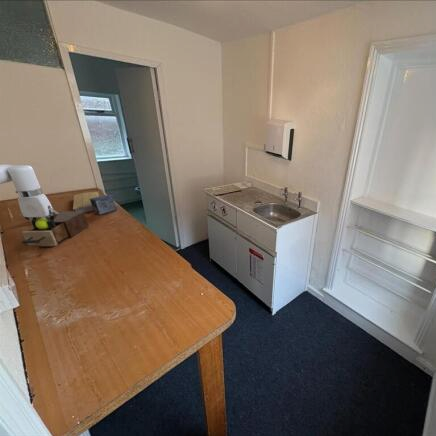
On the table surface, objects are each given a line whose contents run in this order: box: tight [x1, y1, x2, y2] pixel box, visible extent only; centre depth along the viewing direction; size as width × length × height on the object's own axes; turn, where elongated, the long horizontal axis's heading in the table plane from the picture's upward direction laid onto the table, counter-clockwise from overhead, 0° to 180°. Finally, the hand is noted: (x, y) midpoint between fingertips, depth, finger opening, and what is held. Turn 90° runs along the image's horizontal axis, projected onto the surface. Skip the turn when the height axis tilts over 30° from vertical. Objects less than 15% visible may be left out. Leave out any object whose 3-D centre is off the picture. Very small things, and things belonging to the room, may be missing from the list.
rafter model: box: [72, 191, 100, 213], centre depth 164 cm, size 35×14×6 cm, turn 39°
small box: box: [90, 194, 117, 216], centre depth 153 cm, size 11×6×10 cm, turn 154°
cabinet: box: [48, 210, 90, 239], centre depth 125 cm, size 15×13×10 cm
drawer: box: [21, 223, 69, 247], centre depth 114 cm, size 18×11×8 cm, turn 9°
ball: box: [35, 217, 49, 229], centre depth 113 cm, size 6×6×6 cm
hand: (45, 227), depth 114 cm, fingers closed on ball, 5 cm apart
